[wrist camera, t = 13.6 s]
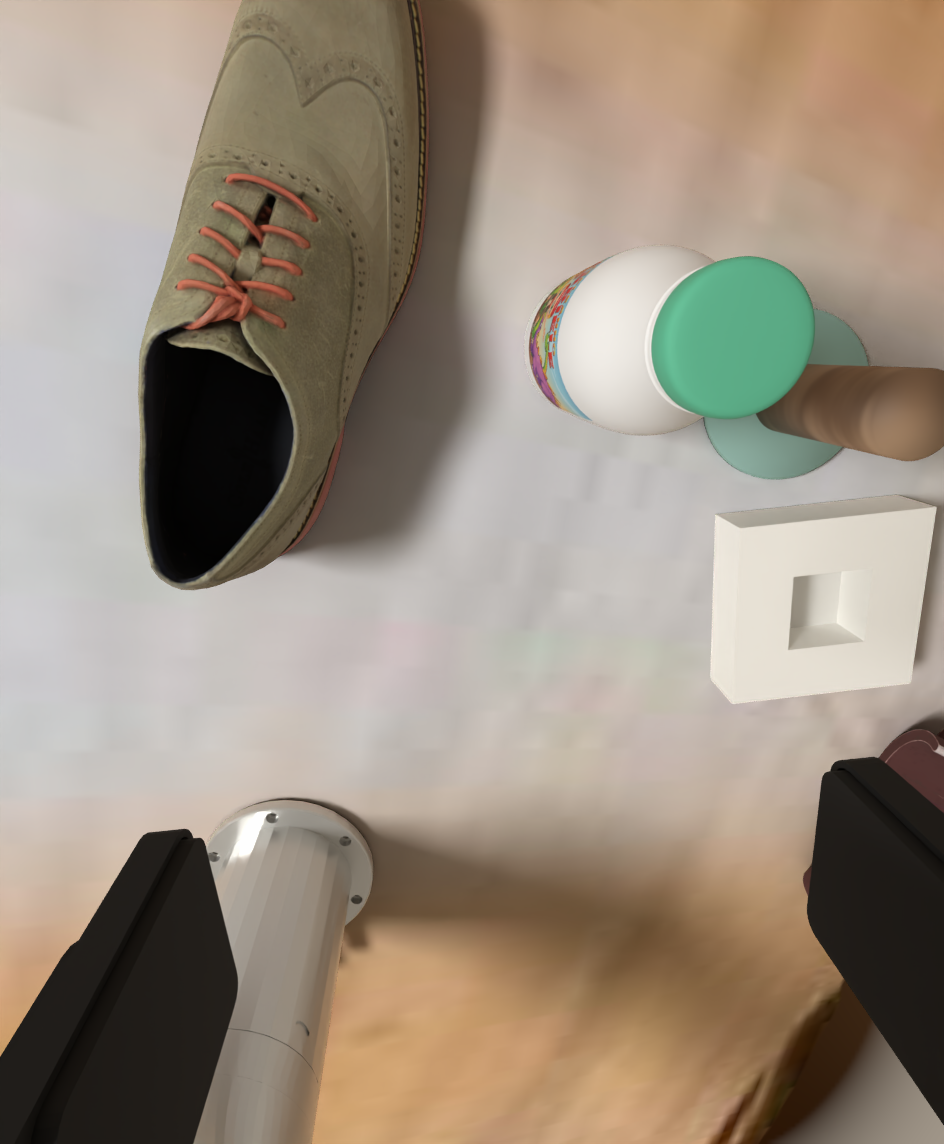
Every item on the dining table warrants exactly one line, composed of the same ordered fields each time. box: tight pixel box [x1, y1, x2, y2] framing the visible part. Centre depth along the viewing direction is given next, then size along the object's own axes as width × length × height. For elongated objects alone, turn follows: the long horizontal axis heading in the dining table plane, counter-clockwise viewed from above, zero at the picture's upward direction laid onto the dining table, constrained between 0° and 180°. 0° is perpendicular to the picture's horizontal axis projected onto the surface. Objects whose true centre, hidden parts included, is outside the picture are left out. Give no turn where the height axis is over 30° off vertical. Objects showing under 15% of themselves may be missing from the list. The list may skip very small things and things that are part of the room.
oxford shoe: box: [138, 0, 429, 590], centre depth 30 cm, size 11×32×12 cm, turn 166°
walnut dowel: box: [756, 364, 944, 461], centre depth 33 cm, size 4×4×11 cm
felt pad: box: [703, 309, 869, 479], centre depth 39 cm, size 10×10×1 cm
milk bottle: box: [524, 245, 815, 436], centre depth 28 cm, size 8×8×20 cm
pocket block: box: [710, 495, 937, 704], centre depth 42 cm, size 12×12×4 cm
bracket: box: [803, 729, 944, 895], centre depth 45 cm, size 6×17×10 cm, turn 160°
